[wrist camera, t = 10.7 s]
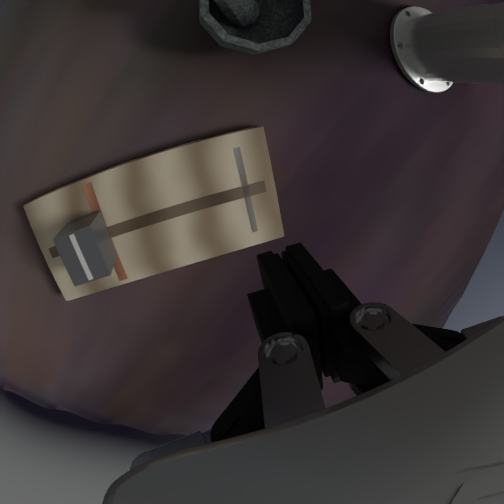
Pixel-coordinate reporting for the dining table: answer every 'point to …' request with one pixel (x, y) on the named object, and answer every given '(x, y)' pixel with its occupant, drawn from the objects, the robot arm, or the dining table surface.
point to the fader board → (168, 208)
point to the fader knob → (86, 249)
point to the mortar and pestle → (254, 23)
